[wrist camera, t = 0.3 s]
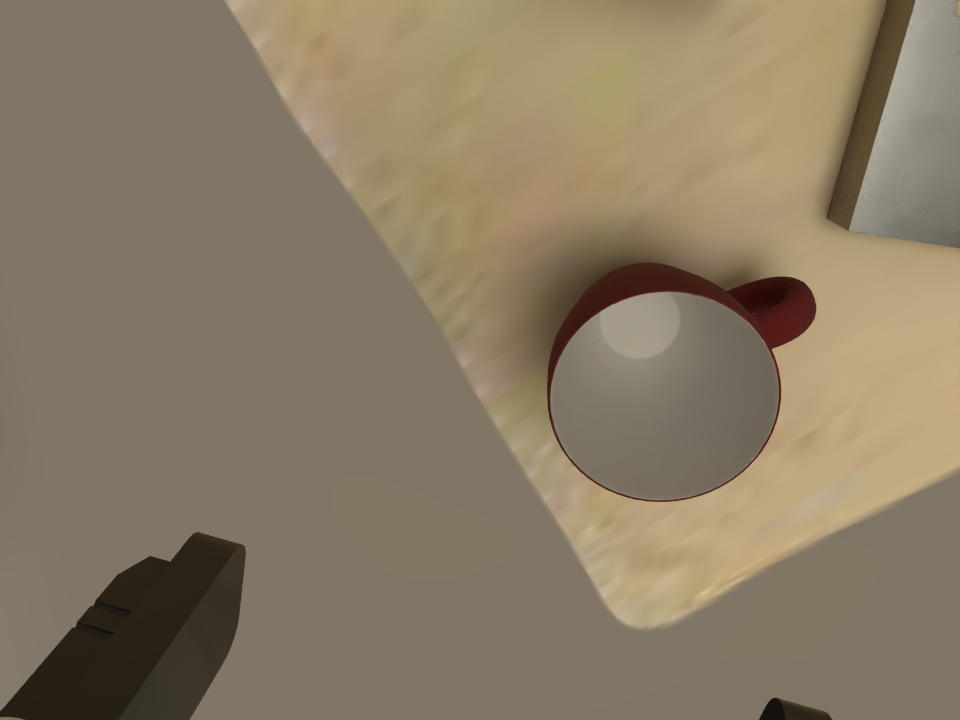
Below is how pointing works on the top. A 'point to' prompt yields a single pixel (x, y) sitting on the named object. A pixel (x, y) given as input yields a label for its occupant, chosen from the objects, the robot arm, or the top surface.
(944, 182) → the dark grey slab
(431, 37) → the top surface
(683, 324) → the mug
